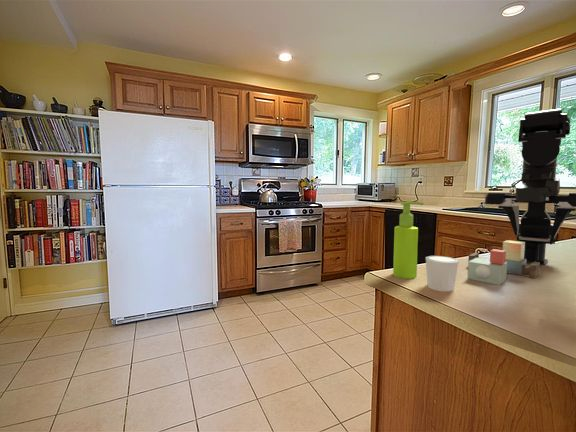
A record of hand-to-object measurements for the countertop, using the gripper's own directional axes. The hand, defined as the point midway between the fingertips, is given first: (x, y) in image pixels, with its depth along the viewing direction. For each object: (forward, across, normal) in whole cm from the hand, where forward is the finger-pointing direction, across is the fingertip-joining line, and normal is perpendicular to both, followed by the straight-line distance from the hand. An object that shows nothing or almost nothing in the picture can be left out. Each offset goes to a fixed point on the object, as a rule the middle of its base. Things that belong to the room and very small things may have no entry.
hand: (534, 236), depth 66 cm
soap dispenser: (+12, -24, -12) cm, 29 cm away
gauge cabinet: (+12, -9, 0) cm, 15 cm away
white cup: (+12, -14, -15) cm, 24 cm away
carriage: (+12, -6, +12) cm, 18 cm away
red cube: (+8, -7, 0) cm, 10 cm away
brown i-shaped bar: (+12, -8, +12) cm, 19 cm away
